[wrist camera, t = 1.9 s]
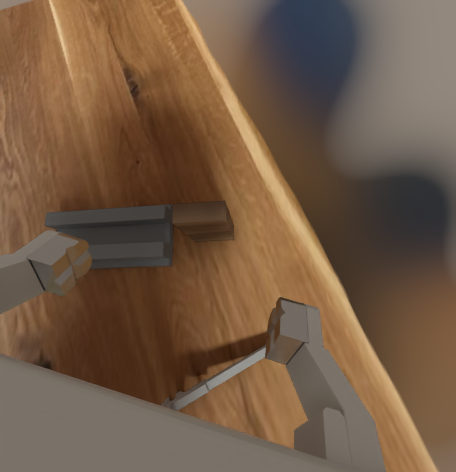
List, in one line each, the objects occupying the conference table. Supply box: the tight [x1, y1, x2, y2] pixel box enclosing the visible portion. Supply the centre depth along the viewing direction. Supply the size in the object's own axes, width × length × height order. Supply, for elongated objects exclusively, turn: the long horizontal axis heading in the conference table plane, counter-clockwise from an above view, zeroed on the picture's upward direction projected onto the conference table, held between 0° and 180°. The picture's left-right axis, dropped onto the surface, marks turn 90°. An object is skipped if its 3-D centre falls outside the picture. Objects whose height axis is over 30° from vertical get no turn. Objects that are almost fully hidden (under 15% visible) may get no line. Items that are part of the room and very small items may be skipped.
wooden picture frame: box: [172, 201, 234, 242], centre depth 34 cm, size 3×6×11 cm, turn 92°
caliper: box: [160, 345, 266, 411], centre depth 31 cm, size 20×1×6 cm, turn 118°
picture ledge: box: [45, 204, 173, 269], centre depth 39 cm, size 10×20×4 cm, turn 91°
